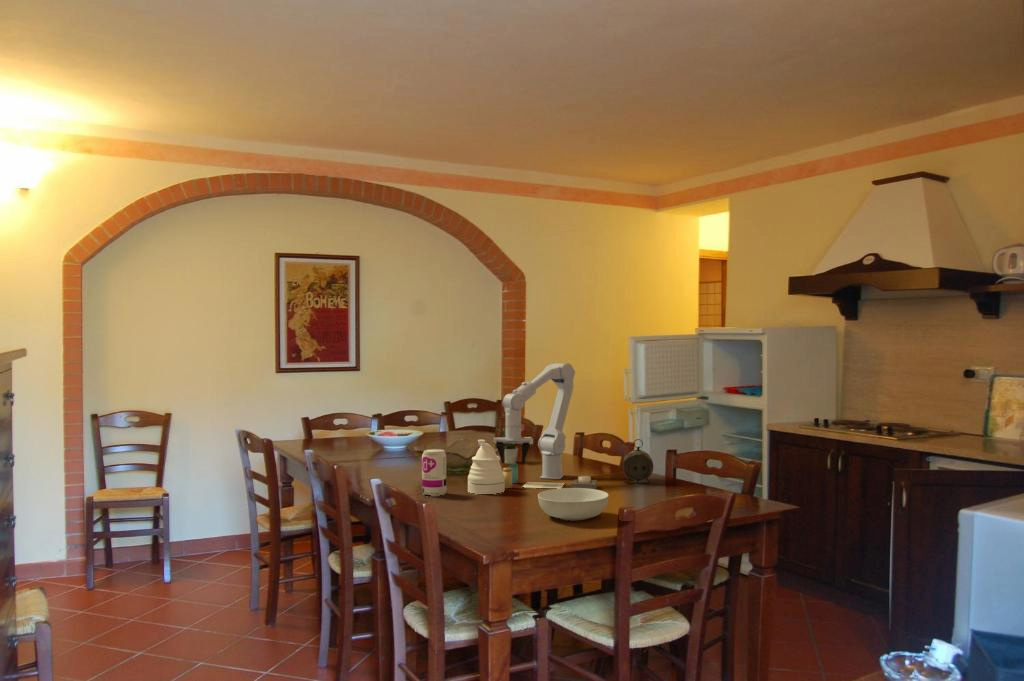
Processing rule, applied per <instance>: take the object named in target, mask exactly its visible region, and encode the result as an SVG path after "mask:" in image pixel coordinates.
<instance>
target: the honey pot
mask: <svg viewBox="0 0 1024 681" xmlns="http://www.w3.org/2000/svg"><path fill="white" fill-rule="evenodd" d="M477 442H478V445H479V446H480V447H479V448H478V449H477V451H476V454H475V455H474V456H472V457H471V460H472V465H471V466H470V470H469V474H468V475H467V493H469V492H470V493H469V494H471V493H475V494H474V495H477V494H494V495H497V494H496V493H500V494H502V493H501V492H503V493H504V491H506V489H505V482H504V481H505V480H504V478H505V477H504V474H503V468H502V465H501V464H500V461H501V457H500V455H497V454H496V451H495V449H494V448H493V446H492V445H491V444H489V443H487V442H486V440H485V439H477Z"/></svg>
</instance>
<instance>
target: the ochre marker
mask: <svg viewBox="0 0 1024 681" xmlns="http://www.w3.org/2000/svg"><path fill="white" fill-rule="evenodd" d="M502 471H503V474H504V477H505V478H504V480H505V481H504V482H505V488H511V489H513V484H512V468H509V467H503V468H502Z"/></svg>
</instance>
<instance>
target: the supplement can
mask: <svg viewBox="0 0 1024 681" xmlns="http://www.w3.org/2000/svg"><path fill="white" fill-rule="evenodd" d="M421 492H422V493H421V494H422V495H424V494H430V495H431V496H430V497H441V496H440V495H442V496H445V494H446V493H447V453H446V452H445V450H444V449H443V448H442V449H440V448H430V449H424V450H423V453H422V455H421Z"/></svg>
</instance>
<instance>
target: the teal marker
mask: <svg viewBox="0 0 1024 681" xmlns="http://www.w3.org/2000/svg"><path fill="white" fill-rule="evenodd" d="M508 468H512V483H517V484H518V483H519V471H518V470H519V469H518V468H519V464H518V463H517V462H516V463H508Z"/></svg>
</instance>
